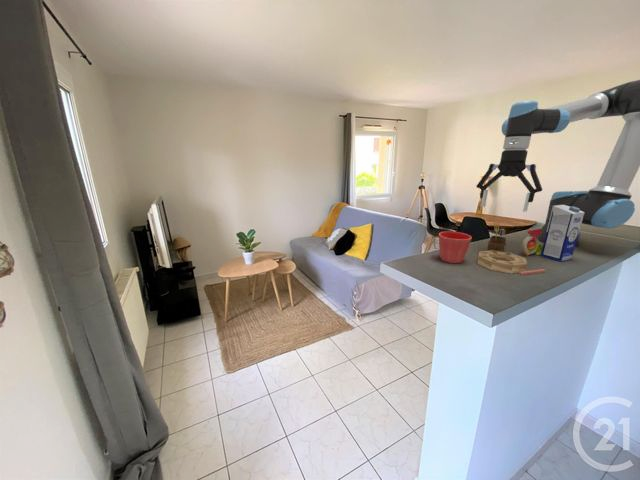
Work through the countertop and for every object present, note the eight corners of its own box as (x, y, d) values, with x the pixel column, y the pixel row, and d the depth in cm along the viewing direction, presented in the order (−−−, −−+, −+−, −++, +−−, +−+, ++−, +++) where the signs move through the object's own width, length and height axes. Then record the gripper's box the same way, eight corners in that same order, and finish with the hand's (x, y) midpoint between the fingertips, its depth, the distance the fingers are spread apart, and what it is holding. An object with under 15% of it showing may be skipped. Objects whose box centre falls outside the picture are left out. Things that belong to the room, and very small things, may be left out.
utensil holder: (490, 256, 104) (495, 226, 100) (483, 251, 109) (488, 222, 106) (506, 257, 103) (513, 227, 99) (499, 252, 108) (505, 223, 105)
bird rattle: (534, 263, 102) (550, 251, 104) (531, 239, 98) (549, 227, 100) (517, 258, 108) (533, 247, 109) (514, 234, 103) (531, 224, 105)
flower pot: (467, 266, 93) (471, 240, 91) (434, 261, 99) (437, 236, 96) (468, 257, 102) (472, 233, 100) (437, 253, 107) (440, 230, 105)
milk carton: (551, 253, 106) (563, 204, 100) (571, 259, 100) (586, 206, 94) (540, 256, 103) (552, 205, 98) (560, 261, 98) (575, 208, 92)
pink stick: (542, 271, 89) (543, 269, 89) (545, 272, 89) (545, 270, 88) (518, 274, 87) (519, 271, 87) (521, 275, 86) (521, 272, 86)
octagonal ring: (499, 256, 103) (500, 249, 102) (534, 270, 90) (536, 262, 89) (468, 259, 100) (470, 252, 99) (501, 274, 87) (502, 266, 86)
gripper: (473, 150, 101) (464, 205, 107) (559, 148, 84) (543, 214, 90) (479, 151, 106) (470, 203, 112) (562, 149, 89) (546, 212, 95)
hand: (502, 208), depth 101 cm, fingers open, 13 cm apart
